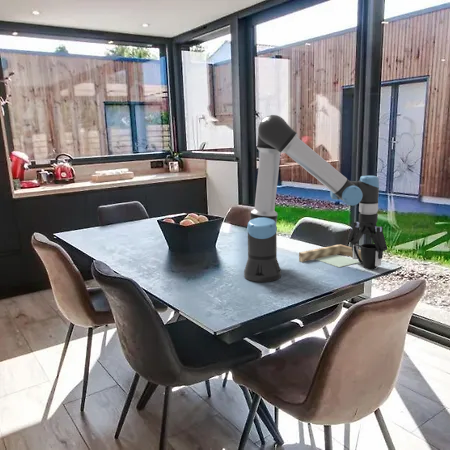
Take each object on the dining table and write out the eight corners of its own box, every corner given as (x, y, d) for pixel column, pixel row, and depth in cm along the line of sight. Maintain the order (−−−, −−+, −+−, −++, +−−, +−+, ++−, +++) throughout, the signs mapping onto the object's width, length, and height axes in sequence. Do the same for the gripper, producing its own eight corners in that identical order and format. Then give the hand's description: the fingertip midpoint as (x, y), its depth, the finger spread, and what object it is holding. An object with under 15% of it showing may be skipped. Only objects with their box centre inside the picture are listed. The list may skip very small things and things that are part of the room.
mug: (359, 261, 193) (359, 241, 191) (384, 267, 184) (385, 245, 182) (348, 265, 188) (349, 244, 186) (373, 271, 179) (374, 249, 177)
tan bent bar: (323, 269, 183) (323, 260, 183) (299, 260, 197) (299, 252, 196) (365, 259, 196) (365, 251, 195) (339, 252, 209) (340, 244, 209)
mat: (338, 267, 186) (338, 266, 186) (315, 259, 199) (315, 258, 198) (360, 262, 192) (360, 261, 192) (336, 254, 205) (336, 254, 205)
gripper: (398, 215, 173) (395, 267, 178) (353, 208, 193) (351, 254, 198) (385, 218, 169) (383, 270, 174) (340, 209, 190) (339, 257, 194)
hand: (366, 262), depth 186 cm, fingers closed on mug, 12 cm apart
